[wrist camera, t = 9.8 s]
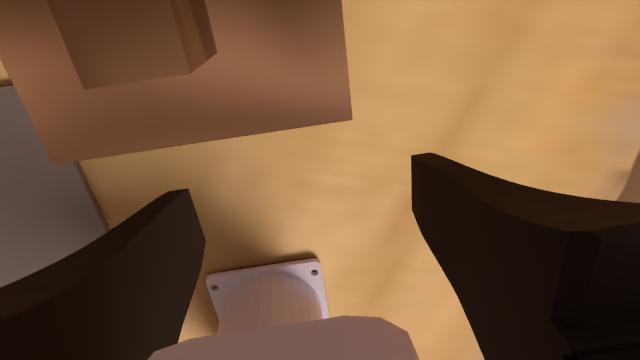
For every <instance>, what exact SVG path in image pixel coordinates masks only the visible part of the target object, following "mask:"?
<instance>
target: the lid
mask: <svg viewBox="0 0 640 360" xmlns="http://www.w3.org/2000/svg"><path fill="white" fill-rule="evenodd" d="M0 59H1V61H2V63H3V65H4V67H5V69H6V71H7V73H8V75H9V77H10V79H11V81H12V83H13V85H14V87H15V89H16V91H17V93H18V95H19V97H20V99H21V101H22V103H23V105H24V107H25V109H26V111H27V113H28V115H29V117H30V119H31V121H32V123H33V125H34V127H35V129H36V131H37V133H38V135H39V137H40V139H41V141H42V143H43V145H44V147H45V149H46V151H47V153H48V155H49V157H50V159H51V161H52V163H53V165H54V164H60V163H67V162H74V161H80V160H87V159H94V158H100V157H107V156H114V155H120V154H127V153H134V152H141V151H147V150H154V149H161V148H167V147H174V146H181V145H187V144H194V143H201V142H207V141H214V140H221V139H228V138H234V137H241V136H248V135H254V134H261V133H268V132H274V131H281V130H288V129H294V128H301V127H308V126H315V125H321V124H328V123H335V122H341V121H348V120H352V109H351V98H350V88H349V77H348V66H347V56H346V45H345V34H344V24H343V13H342V2H341V0H0Z"/></svg>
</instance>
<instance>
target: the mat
mask: <svg viewBox="0 0 640 360" xmlns="http://www.w3.org/2000/svg"><path fill="white" fill-rule="evenodd" d="M108 231H110V230H109V228H108V226H107V224H106V221H105V219H104V217H103V215H102V213H101V211H100V208H99V206H98V204H97V202H96V200H95V198H94V195H93V193H92V191H91V189H90V187H89V185H88V182H87V180H86V178H85V176H84V174H83V172H82V169H81V167H80V165H79V163H78V161H74V162H67V163H60V164H54V165H53V163H52V161H51V159H50V157H49V155H48V153H47V151H46V149H45V147H44V145H43V143H42V141H41V139H40V137H39V135H38V133H37V131H36V129H35V127H34V125H33V123H32V121H31V119H30V117H29V115H28V113H27V111H26V109H25V107H24V105H23V103H22V101H21V99H20V97H19V95H18V93H17V91H16V89H15V87H14V85H7V86H0V287H3V286H5V285H7V284H10V283H12V282H14V281H17V280H19V279H21V278H23V277H25V276H27V275H30V274H32V273H34V272H36V271H38V270H40V269H42V268H44V267H47V266H49V265H51V264H53V263H55V262H57V261H59V260H61V259H63V258H64V257H66V256H68V255H70V254H72V253H74V252H76V251H77V250H79V249H81V248H83V247H84V246H86V245H88V244H89V243H91V242H93V241H94V240H96V239H97V238H99V237H101V236H102V235H104V234H105V233H107V232H108Z"/></svg>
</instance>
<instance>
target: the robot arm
mask: <svg viewBox="0 0 640 360" xmlns="http://www.w3.org/2000/svg"><path fill="white" fill-rule="evenodd" d="M411 174H412V211H413V213H414V216H415V219H416V221H417V224H418V226H419V229H420V231H421V233H422V235H423V237H424V239H425V241H426V242H427V244H428V246H429V247H430V249H431V251H432V253H433V254H434V256H435V258H436V259H437V261H438V263H439V265H440V266H441V268H442V270H443V271H444V273H445V275H446V276H447V278H448V280H449V282H450V283H451V285H452V287H453V289H454V291H455V292H456V294H457V296H458V298H459V301H460V303H461V305H462V307H463V310H464V312H465V314H466V316H467V319H468V321H469V323H470V325H471V328H472V330H473V333H474V335H475V337H476V340H477V342H478V345H479V347H480V349H481V352H482V354H483V357H484V359H485V360H640V203H631V202H619V201H610V200H600V199H592V198H585V197H578V196H572V195H566V194H561V193H555V192H550V191H545V190H540V189H536V188H532V187H528V186H524V185H520V184H517V183H513V182H510V181H507V180H504V179H501V178H498V177H495V176H492V175H489V174H486V173H483V172H480V171H478V170H475V169H473V168H470V167H468V166H465V165H463V164H460V163H458V162H455V161H453V160H450V159H448V158H445V157H443V156H440V155H437V154H434V153H424V154H417V155H411ZM205 241H206V240H205V237H204V234H203V231H202V228H201V225H200V222H199V219H198V216H197V213H196V210H195V207H194V204H193V201H192V198H191V195H190V192H189V189H182V190H175V191H169V192H167V193H165V194H163V195H161V196H160V197H158V198H157V199H155V200H154V201H152V202H151V203H149V204H148V205H146V206H145V207H143V208H142V209H141V210H139V211H138V212H136V213H135V214H133V215H132V216H131V217H129V218H128V219H126V220H125V221H123V222H122V223H120V224H119V225H117V226H116V227H114V228H113V229H111V230H110V231H108V232H107V233H105V234H104V235H102V236H101V237H99V238H97V239H96V240H94V241H93V242H91V243H89V244H88V245H86V246H84V247H83V248H81V249H79V250H77V251H76V252H74V253H72V254H70V255H68V256H66V257H64V258H63V259H61V260H59V261H57V262H55V263H53V264H51V265H49V266H47V267H44V268H42V269H40V270H38V271H36V272H34V273H32V274H30V275H27V276H25V277H23V278H21V279H19V280H17V281H14V282H12V283H10V284H7V285H5V286H3V287H0V360H419V358H418V355H417V353H416V350H415V348H414V346H413V343H412V341H411V339H410V336H409V334H408V332H407V331H405V330H403V329H401V328H399V327H398V326H396V325H394V324H392V323H390V322H388V321H386V320H385V319H383V318H380V317H366V316H339V317H332V318H329V313H328V306H327V300H326V294H325V288H324V282H323V276H322V270H321V264H320V261H319V260H318V259H316V258H311V259H304V260H298V261H291V262H285V263H278V264H271V265H265V266H258V267H252V268H245V269H239V270H232V271H226V272H219V273H213V274H209V275H208V276H207V278H206V285H207V288H208V291H209V294H210V297H211V299H212V302H213V305H214V308H215V311H216V314H217V317H218V319H219V326H218V331H217V335H213V336H206V337H200V338H193V339H188V340H185V341H183V342H180V343H178V340H179V336H180V333H181V329H182V326H183V322H184V319H185V316H186V313H187V310H188V307H189V304H190V301H191V298H192V295H193V292H194V289H195V286H196V283H197V280H198V276H199V273H200V270H201V267H202V261H203V255H204V248H205ZM312 270H317V271H316V272H312ZM213 285H216V286H218V287H214V286H213Z"/></svg>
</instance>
